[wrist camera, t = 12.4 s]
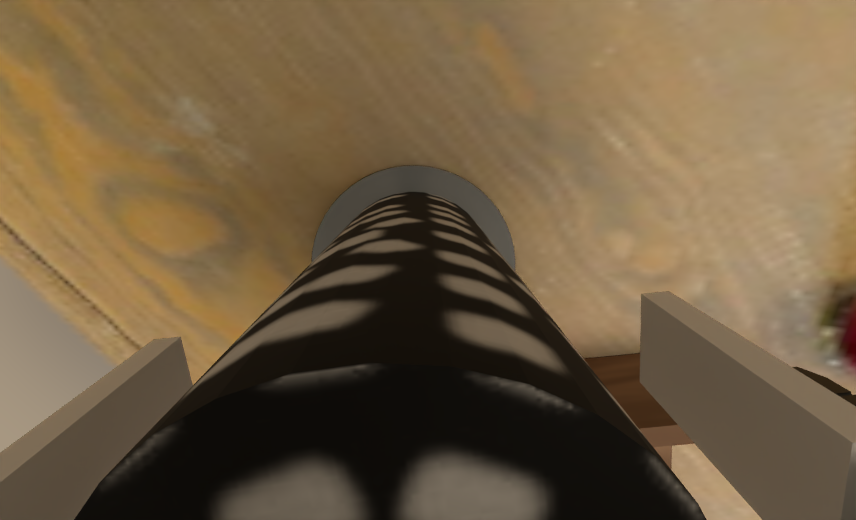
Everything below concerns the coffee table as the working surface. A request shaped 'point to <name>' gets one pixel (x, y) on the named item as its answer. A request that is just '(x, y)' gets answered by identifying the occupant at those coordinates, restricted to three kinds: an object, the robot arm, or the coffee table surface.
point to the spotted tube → (397, 400)
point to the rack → (639, 402)
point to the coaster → (415, 181)
